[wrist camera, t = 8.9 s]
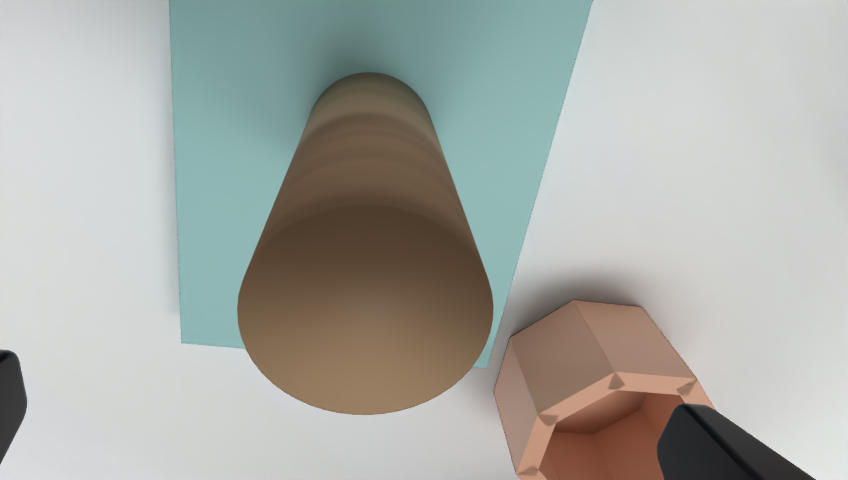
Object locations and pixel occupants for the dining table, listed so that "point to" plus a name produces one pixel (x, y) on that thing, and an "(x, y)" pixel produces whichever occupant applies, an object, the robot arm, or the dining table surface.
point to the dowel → (366, 260)
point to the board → (321, 67)
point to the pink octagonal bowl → (591, 394)
